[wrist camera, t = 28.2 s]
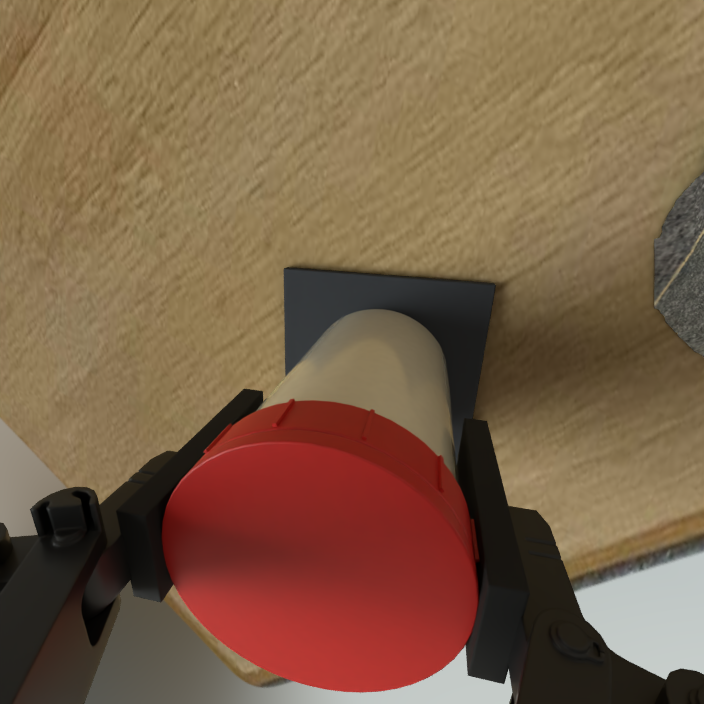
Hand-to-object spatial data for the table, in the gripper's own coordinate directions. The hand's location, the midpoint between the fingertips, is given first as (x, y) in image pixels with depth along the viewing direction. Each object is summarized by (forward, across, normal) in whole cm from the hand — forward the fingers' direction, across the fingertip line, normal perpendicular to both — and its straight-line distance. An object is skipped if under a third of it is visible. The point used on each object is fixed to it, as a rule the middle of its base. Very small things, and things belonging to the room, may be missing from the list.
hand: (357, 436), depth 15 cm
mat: (+6, 0, 0) cm, 6 cm away
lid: (-6, 0, 0) cm, 6 cm away
